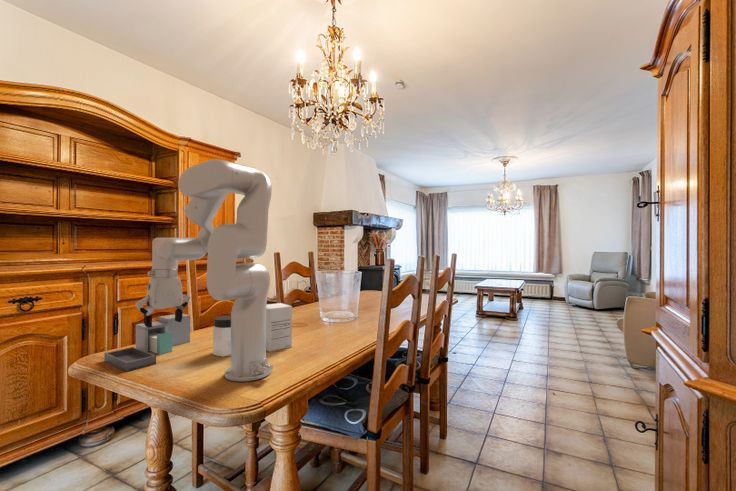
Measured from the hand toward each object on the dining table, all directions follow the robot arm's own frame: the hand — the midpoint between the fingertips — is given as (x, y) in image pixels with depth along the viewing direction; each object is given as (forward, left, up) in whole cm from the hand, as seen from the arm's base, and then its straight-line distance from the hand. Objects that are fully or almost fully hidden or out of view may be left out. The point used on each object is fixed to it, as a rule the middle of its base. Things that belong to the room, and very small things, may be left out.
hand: (163, 324), depth 117 cm
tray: (-2, +11, -10) cm, 15 cm away
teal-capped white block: (+5, 0, -10) cm, 11 cm away
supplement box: (-26, -26, -10) cm, 38 cm away
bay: (+8, -4, -10) cm, 13 cm away
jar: (-18, -12, -10) cm, 24 cm away
